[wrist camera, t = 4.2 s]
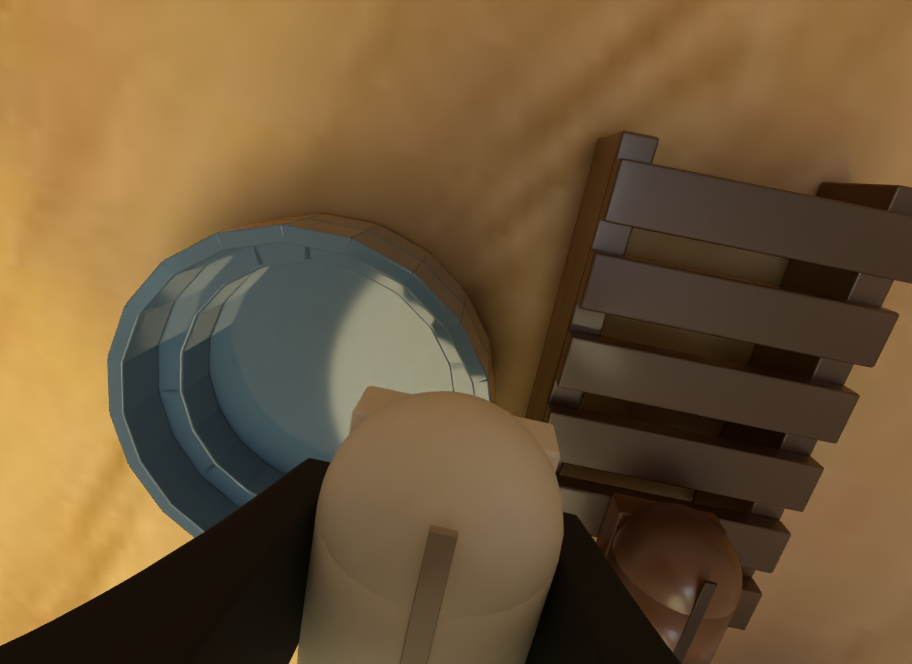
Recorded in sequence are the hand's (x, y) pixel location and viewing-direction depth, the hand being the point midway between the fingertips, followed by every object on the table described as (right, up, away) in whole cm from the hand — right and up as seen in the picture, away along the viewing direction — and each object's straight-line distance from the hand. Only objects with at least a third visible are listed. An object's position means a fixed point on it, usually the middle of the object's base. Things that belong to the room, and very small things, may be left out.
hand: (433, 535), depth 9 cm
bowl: (-4, +2, +11) cm, 12 cm away
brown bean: (+6, -4, +8) cm, 11 cm away
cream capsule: (0, 0, +1) cm, 1 cm away
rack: (+8, +2, +10) cm, 12 cm away
